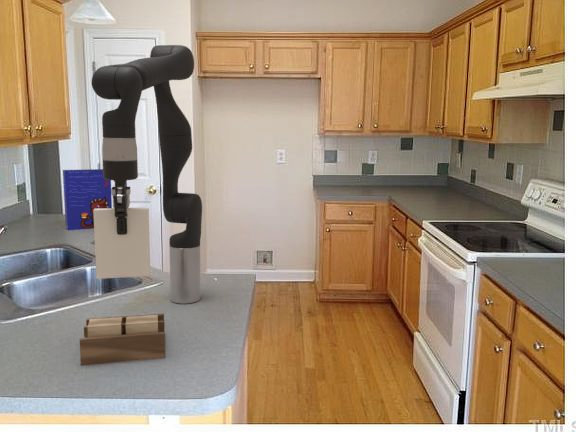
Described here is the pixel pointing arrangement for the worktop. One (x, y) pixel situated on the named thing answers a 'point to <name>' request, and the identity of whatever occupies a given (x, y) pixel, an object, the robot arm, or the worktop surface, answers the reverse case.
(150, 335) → the rack
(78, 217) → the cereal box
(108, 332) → the offcut block
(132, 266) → the cutting board
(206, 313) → the worktop surface
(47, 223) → the worktop surface
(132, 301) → the worktop surface
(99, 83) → the robot arm
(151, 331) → the offcut block
